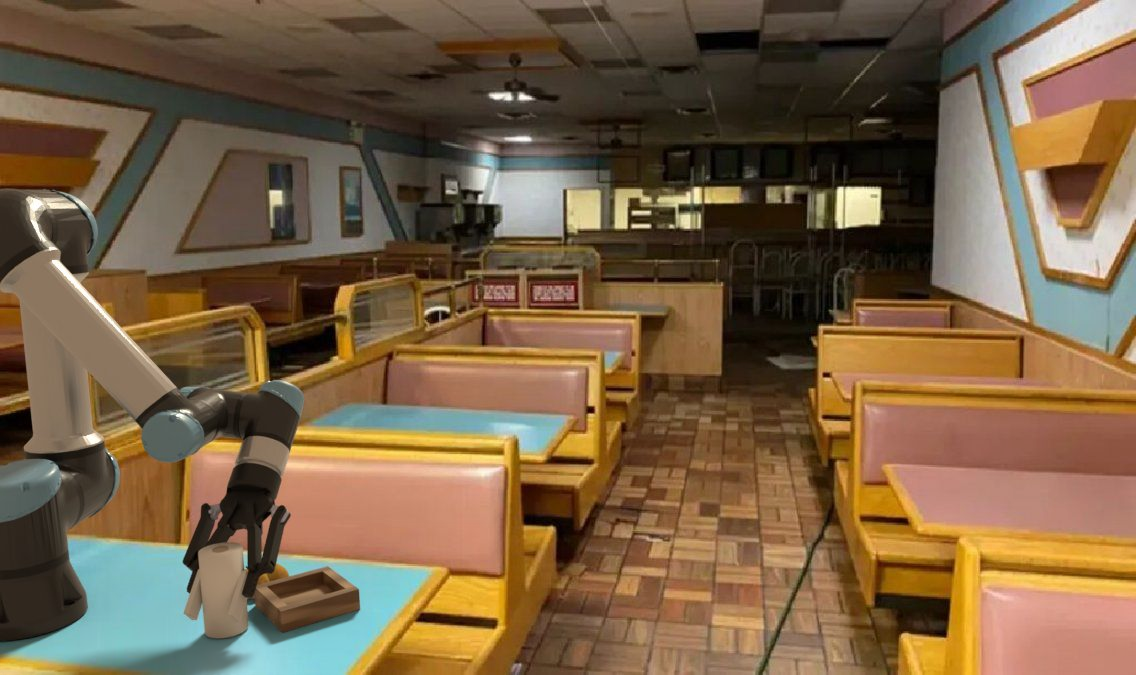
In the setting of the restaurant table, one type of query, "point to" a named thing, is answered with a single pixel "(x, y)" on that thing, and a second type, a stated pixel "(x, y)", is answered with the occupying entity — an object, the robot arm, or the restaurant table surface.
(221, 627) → the paper roll
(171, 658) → the restaurant table surface
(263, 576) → the bread roll
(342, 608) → the tray
